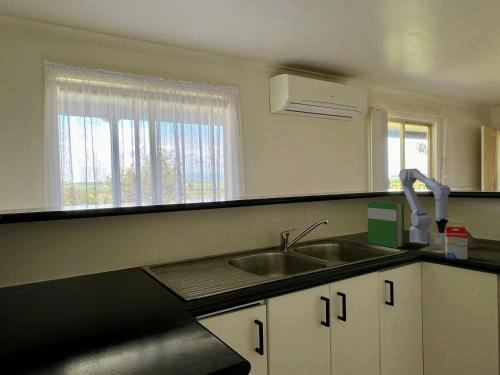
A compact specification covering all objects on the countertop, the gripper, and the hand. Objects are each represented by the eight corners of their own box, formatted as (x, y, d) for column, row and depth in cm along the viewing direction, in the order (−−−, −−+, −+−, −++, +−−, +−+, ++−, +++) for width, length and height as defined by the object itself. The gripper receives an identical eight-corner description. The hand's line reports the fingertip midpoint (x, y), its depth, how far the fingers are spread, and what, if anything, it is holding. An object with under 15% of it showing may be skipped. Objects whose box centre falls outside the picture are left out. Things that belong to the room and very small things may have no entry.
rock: (483, 243, 188) (464, 237, 197) (480, 231, 184) (461, 226, 193) (472, 257, 185) (453, 251, 193) (469, 246, 181) (450, 240, 190)
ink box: (446, 258, 167) (446, 228, 166) (445, 256, 172) (445, 226, 171) (467, 260, 164) (467, 228, 163) (465, 257, 169) (465, 226, 168)
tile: (429, 247, 190) (429, 232, 189) (430, 247, 191) (430, 232, 191) (445, 249, 184) (445, 234, 184) (446, 249, 185) (446, 233, 185)
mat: (418, 250, 185) (418, 249, 185) (426, 246, 194) (426, 246, 194) (445, 254, 176) (445, 253, 176) (452, 249, 185) (452, 249, 185)
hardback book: (404, 247, 194) (404, 203, 193) (396, 249, 189) (396, 204, 188) (375, 242, 208) (375, 201, 207) (368, 244, 204) (367, 202, 202)
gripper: (445, 209, 183) (445, 235, 184) (453, 206, 193) (453, 231, 194) (431, 208, 188) (431, 234, 188) (439, 206, 198) (439, 230, 199)
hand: (441, 232), depth 191 cm, fingers closed
